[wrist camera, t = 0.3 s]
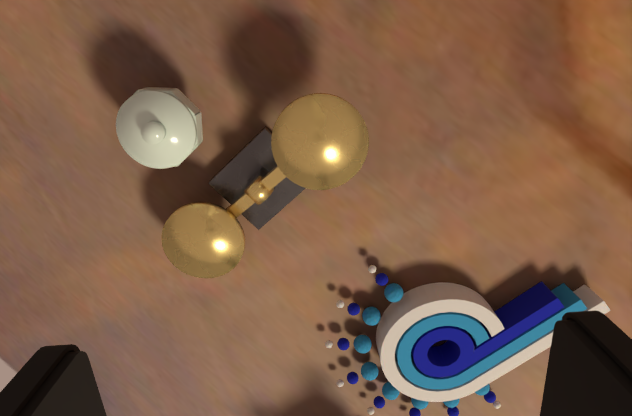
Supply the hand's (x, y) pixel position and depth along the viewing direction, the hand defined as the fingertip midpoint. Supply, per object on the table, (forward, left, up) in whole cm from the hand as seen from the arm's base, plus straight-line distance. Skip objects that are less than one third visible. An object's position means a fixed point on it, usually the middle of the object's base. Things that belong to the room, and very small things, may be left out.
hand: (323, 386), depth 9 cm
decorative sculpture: (+30, -5, -36) cm, 47 cm away
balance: (+2, -8, -36) cm, 36 cm away
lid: (-8, -10, -33) cm, 35 cm away
